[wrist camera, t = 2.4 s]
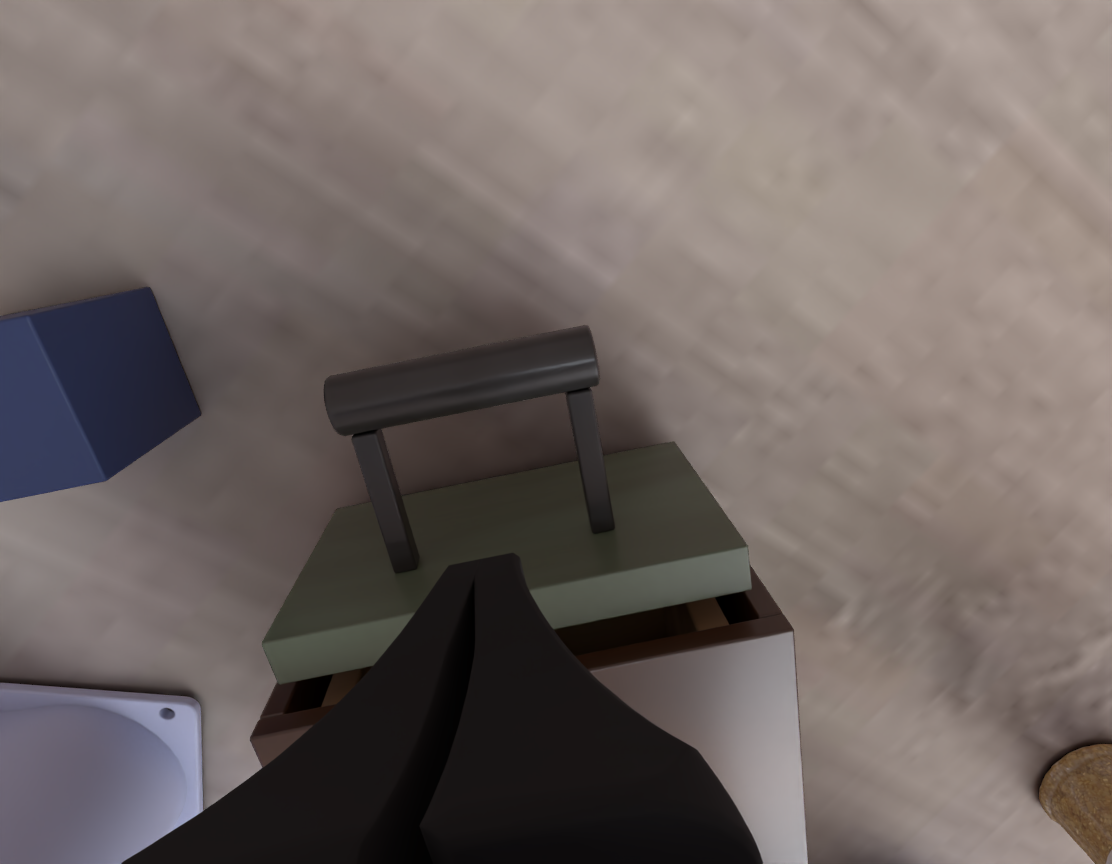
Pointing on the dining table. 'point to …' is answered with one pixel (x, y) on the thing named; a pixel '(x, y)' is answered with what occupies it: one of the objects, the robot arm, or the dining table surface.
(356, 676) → the drawer
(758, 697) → the cabinet
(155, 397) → the box
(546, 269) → the dining table surface
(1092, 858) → the sprinkles bottle
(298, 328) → the dining table surface
